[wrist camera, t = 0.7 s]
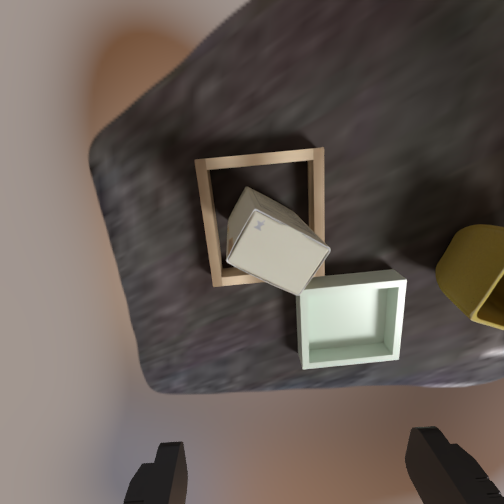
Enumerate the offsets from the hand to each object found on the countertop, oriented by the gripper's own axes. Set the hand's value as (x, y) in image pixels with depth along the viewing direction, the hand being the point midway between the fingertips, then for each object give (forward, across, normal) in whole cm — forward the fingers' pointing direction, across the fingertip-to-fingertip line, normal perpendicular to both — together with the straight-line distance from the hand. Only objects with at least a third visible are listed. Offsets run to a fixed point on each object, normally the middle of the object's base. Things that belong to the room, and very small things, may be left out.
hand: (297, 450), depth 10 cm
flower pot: (+23, -24, +2) cm, 34 cm away
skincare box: (+23, -1, -3) cm, 24 cm away
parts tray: (+23, -10, +9) cm, 27 cm away
